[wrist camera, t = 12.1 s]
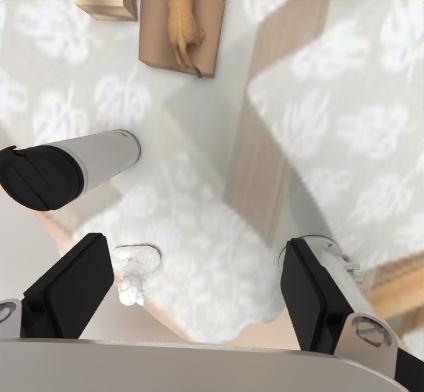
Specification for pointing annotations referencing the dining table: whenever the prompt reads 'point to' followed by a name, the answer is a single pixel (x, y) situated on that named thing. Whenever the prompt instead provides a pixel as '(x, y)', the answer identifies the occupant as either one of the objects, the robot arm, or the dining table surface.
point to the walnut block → (199, 55)
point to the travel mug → (65, 168)
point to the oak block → (110, 9)
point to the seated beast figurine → (136, 271)
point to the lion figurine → (183, 31)
